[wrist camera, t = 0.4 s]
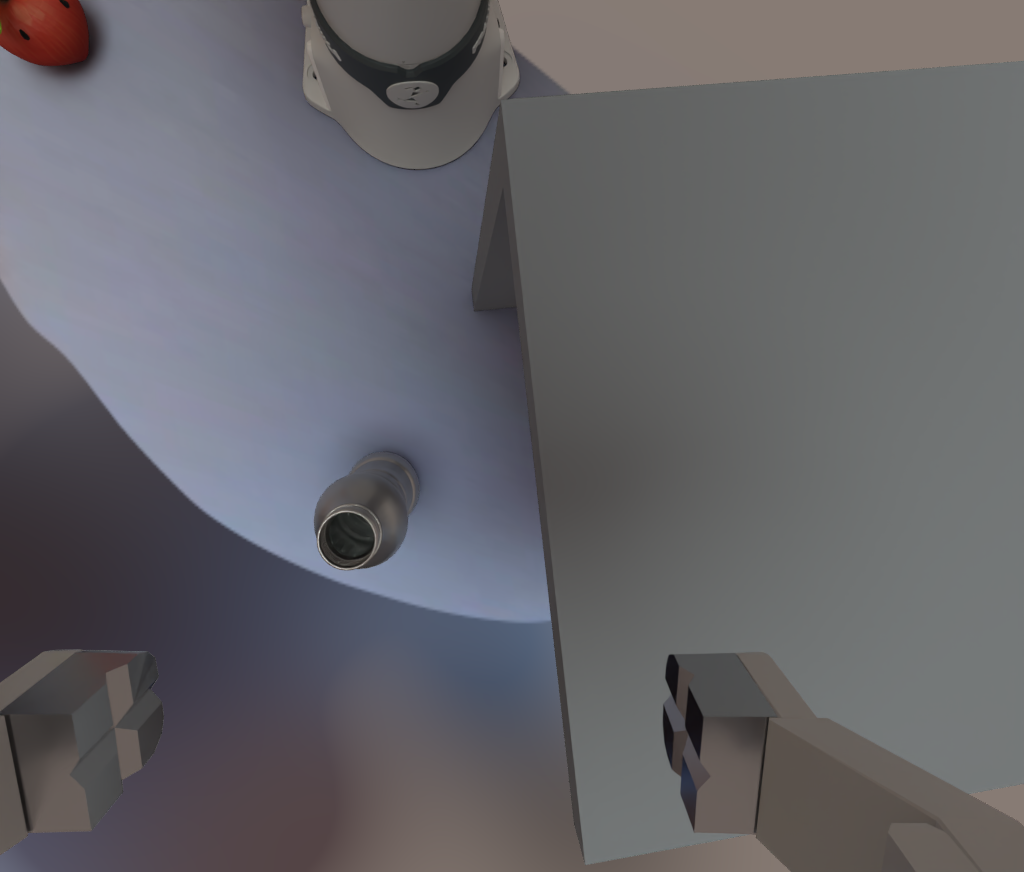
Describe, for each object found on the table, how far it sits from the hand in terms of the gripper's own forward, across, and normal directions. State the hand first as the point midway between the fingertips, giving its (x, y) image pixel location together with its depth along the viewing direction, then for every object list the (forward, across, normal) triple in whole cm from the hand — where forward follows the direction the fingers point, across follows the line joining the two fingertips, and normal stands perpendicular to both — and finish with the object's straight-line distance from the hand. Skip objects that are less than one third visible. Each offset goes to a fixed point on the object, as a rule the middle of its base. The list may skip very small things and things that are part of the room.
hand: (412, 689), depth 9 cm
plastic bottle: (+45, +10, +10) cm, 47 cm away
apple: (+47, +35, -27) cm, 65 cm away
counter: (+47, -8, +4) cm, 48 cm away
